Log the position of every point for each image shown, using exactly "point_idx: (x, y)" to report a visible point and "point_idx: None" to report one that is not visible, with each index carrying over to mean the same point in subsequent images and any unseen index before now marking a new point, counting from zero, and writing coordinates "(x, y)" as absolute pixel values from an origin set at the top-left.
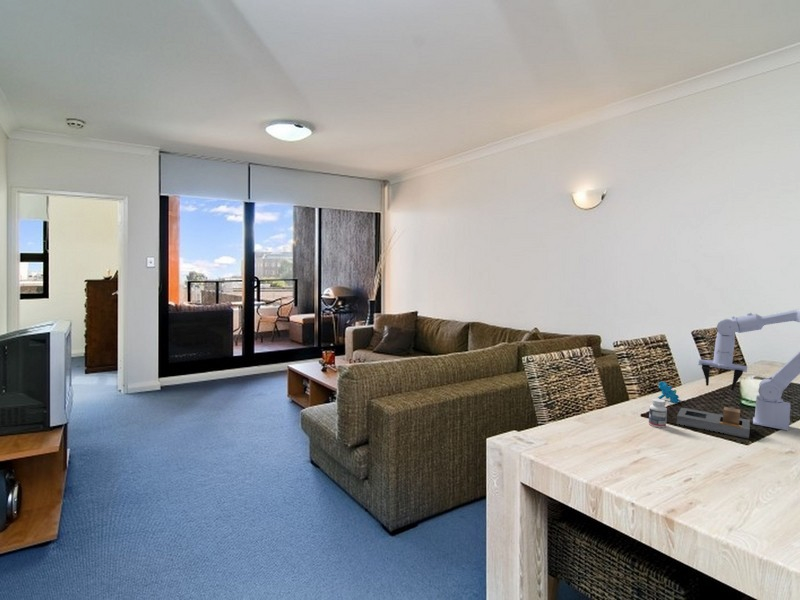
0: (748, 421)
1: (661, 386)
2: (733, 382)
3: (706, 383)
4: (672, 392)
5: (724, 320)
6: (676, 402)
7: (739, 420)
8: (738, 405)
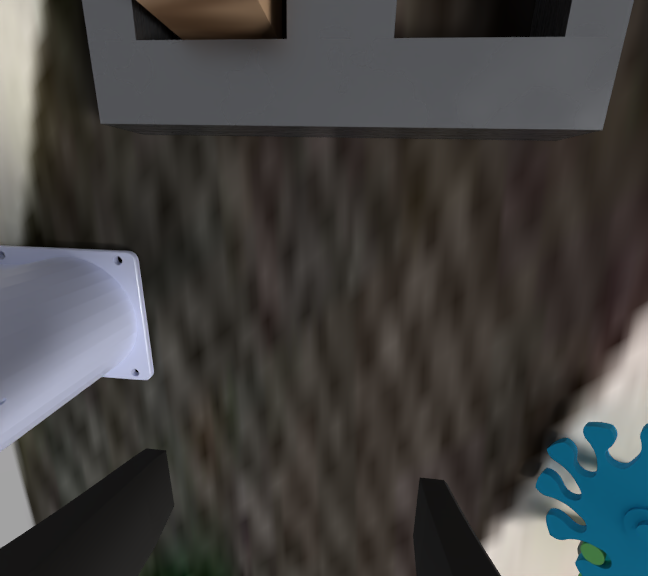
0: (99, 58)
1: None
2: (55, 537)
3: (452, 501)
4: (615, 541)
5: None
6: (557, 441)
7: (148, 6)
8: (240, 573)
